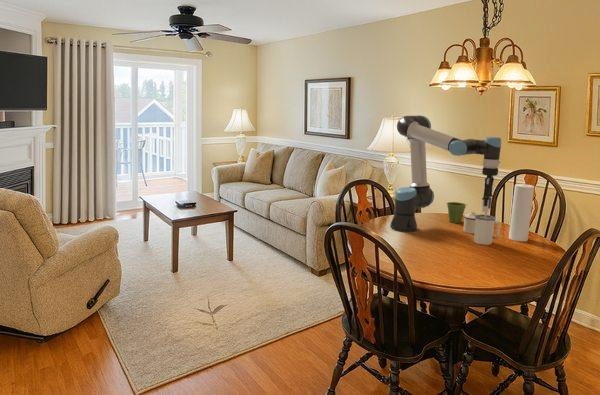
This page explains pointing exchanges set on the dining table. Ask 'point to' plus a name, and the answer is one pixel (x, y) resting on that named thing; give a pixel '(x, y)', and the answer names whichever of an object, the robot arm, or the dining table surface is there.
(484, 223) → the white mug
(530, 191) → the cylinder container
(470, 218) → the teacup with lid
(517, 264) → the dining table surface
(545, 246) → the dining table surface
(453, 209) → the plant pot
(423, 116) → the robot arm
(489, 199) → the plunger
